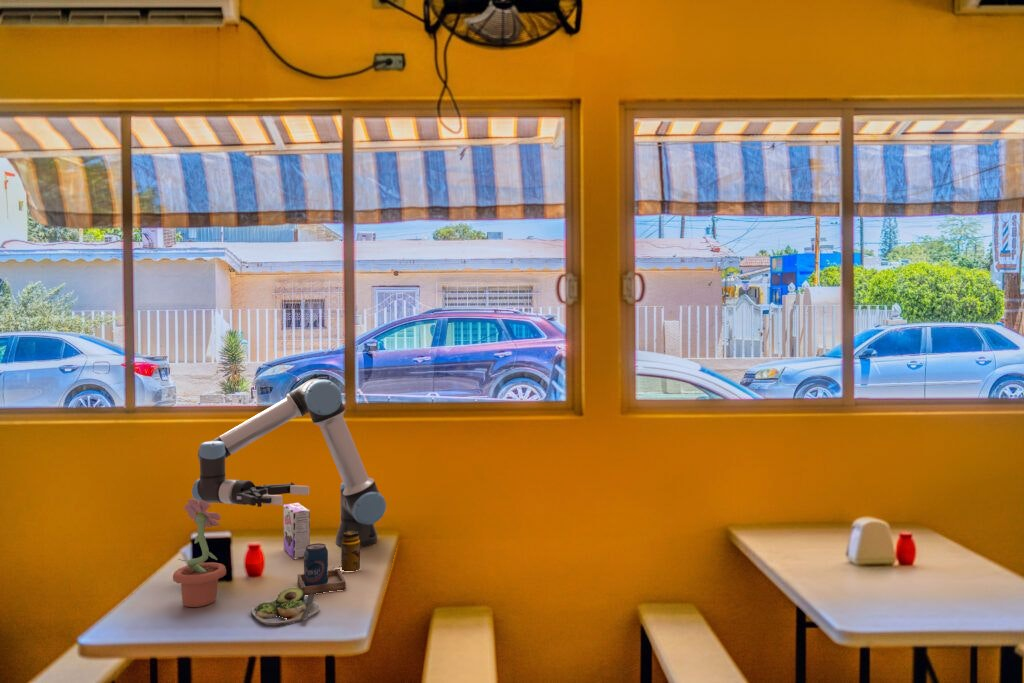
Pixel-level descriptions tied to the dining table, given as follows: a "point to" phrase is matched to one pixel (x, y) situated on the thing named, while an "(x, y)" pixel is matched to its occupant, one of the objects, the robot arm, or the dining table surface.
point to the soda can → (315, 564)
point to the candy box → (296, 529)
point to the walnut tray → (333, 584)
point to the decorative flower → (200, 561)
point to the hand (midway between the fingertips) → (295, 495)
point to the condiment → (350, 551)
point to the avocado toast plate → (286, 607)
